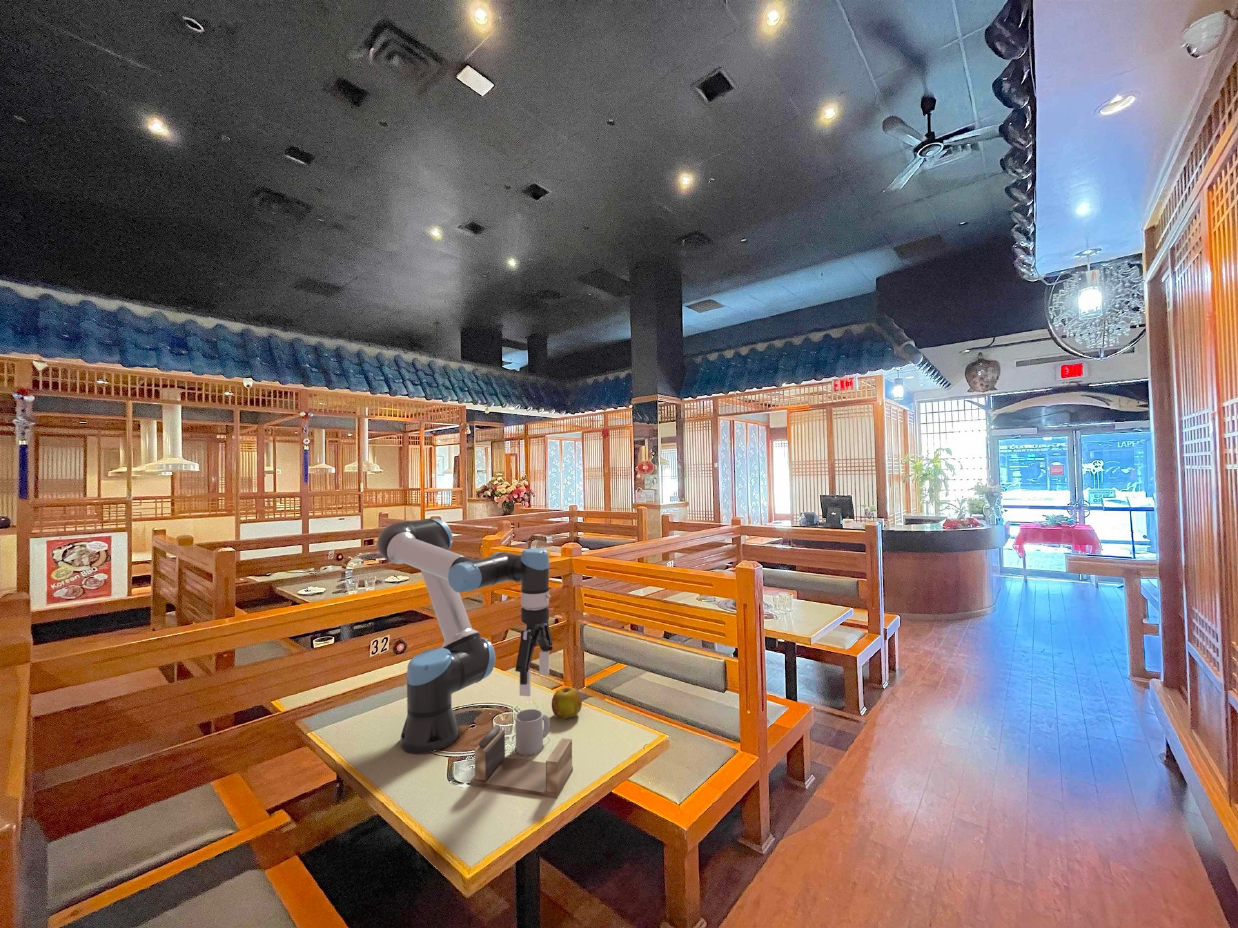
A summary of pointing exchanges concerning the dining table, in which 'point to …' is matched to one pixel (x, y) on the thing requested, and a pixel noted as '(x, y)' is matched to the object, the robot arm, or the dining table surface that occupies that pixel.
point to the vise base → (532, 773)
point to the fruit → (566, 703)
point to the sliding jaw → (489, 753)
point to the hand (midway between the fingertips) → (535, 684)
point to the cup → (530, 731)
